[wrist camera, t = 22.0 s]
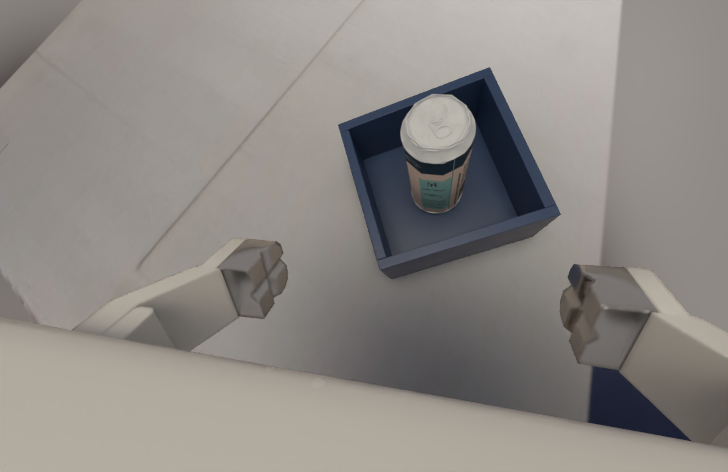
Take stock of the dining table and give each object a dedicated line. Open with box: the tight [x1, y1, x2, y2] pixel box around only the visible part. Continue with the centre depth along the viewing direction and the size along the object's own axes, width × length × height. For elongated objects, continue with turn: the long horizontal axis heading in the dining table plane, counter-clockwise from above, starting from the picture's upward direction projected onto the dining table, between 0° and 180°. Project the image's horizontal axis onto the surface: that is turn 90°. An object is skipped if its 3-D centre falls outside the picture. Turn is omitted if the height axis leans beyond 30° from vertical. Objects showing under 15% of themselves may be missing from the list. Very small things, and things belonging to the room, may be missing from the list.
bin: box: [338, 67, 561, 279], centre depth 29 cm, size 14×14×7 cm
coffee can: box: [400, 94, 476, 214], centre depth 25 cm, size 5×5×12 cm
